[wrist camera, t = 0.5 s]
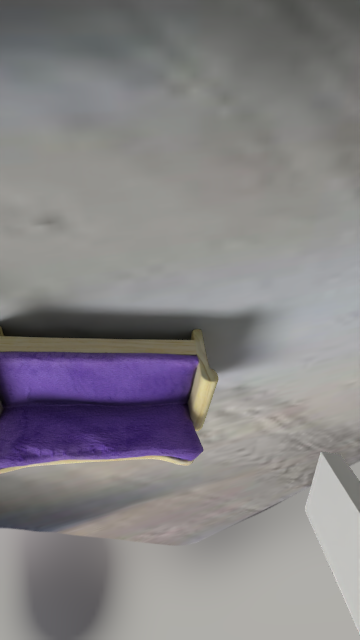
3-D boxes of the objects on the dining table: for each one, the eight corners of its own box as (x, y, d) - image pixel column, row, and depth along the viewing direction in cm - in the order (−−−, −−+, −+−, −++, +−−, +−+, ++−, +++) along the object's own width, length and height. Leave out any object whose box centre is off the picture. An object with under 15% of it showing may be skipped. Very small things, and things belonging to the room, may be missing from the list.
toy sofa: (208, 326, 33) (230, 414, 25) (194, 381, 39) (209, 467, 31) (-16, 319, 30) (-69, 418, 22) (4, 380, 35) (-33, 476, 28)
